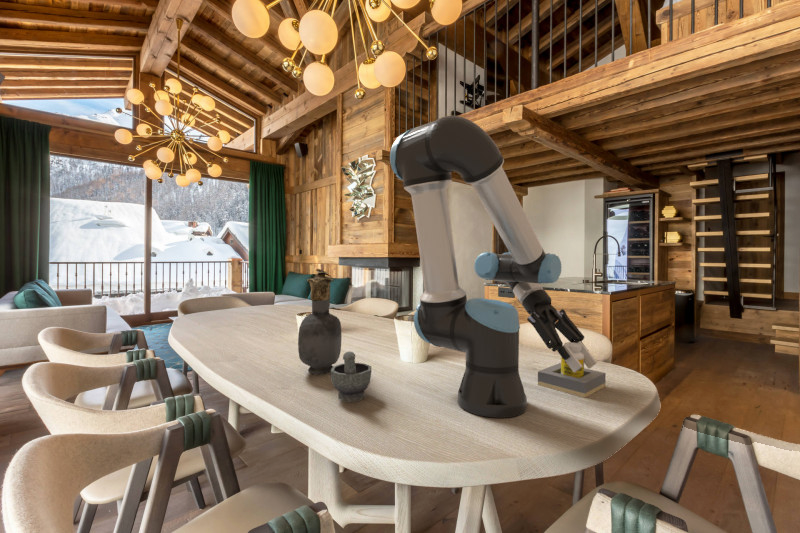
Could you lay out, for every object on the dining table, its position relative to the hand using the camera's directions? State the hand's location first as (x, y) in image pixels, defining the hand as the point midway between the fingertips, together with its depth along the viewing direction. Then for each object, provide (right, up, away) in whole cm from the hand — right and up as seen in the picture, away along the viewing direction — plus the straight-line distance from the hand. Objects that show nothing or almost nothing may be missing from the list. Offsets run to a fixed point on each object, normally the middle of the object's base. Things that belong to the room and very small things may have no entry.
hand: (585, 367), depth 94 cm
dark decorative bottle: (-70, -6, +18) cm, 72 cm away
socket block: (-2, -6, +3) cm, 7 cm away
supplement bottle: (-2, -5, +3) cm, 6 cm away
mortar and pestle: (-58, -6, -5) cm, 59 cm away
